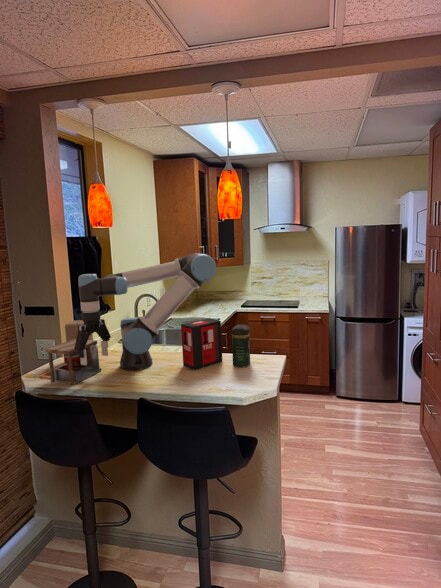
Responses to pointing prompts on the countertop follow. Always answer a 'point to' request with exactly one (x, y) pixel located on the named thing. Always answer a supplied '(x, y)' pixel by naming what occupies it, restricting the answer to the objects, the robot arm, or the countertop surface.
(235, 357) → the coffee jar
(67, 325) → the wooden block
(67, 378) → the gray open tray
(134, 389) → the countertop surface
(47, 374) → the frame
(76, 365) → the canned food
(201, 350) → the cleaning product box
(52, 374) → the small wooden table
